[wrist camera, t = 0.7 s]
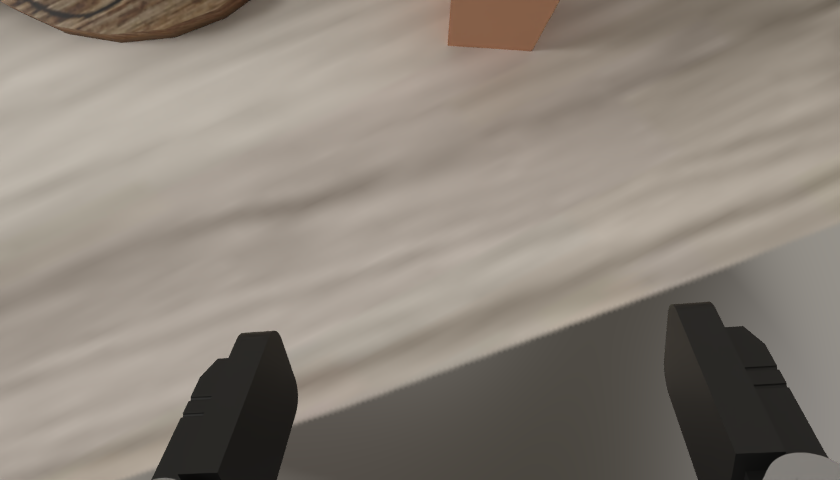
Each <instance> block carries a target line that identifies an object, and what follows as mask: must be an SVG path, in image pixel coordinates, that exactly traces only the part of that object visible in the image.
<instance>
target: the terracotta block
mask: <svg viewBox="0 0 840 480" xmlns="http://www.w3.org/2000/svg"><path fill="white" fill-rule="evenodd" d="M559 1H560V0H451V7H450V21H449V35H448V46H462V47H477V48H493V49H508V50H523V51H532V50H533V48H534V46H535V44H536V43H537V41H538V39H539V37H540V35H541V34H542V32H543V30H544V28H545V26H546V24H547V23H548V21H549V19H550V17H551V15H552V14H553V12H554V10H555V8H556V6H557V4H558V3H559Z"/></svg>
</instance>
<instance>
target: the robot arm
mask: <svg viewBox="0 0 840 480" xmlns="http://www.w3.org/2000/svg"><path fill="white" fill-rule="evenodd" d="M664 372H665V379H666V385H667V390H668V393H669V396H670V399H671V402H672V405H673V408H674V410H675V414H676V417H677V420H678V422H679V425H680V428H681V431H682V434H683V437H684V440H685V443H686V446H687V449H688V451H689V455H690V457H691V460H692V463H693V466H694V469H695V472H696V475H697V478H698V480H840V464H839V463H837V462H835V461H833V460H831V459H829V458H828V457H827V455H826V453H825V452H824V450H823V448H822V446H821V444H820V443H819V441H818V439H817V438H816V435H815V434H814V432H813V430H812V428H811V426H810V425H809V423H808V421H807V419H806V417H805V416H804V414H803V412H802V410H801V408H800V407H799V405H798V403H797V401H796V399H795V398H794V396H793V394H792V392H791V390H790V389H789V388H787V386H786V381H785V379H784V378H783V376H782V374H781V372H780V371H779V370H777V365H776V363H775V362H774V360H773V358H772V356H771V354H770V352H769V351H768V349H767V347H766V345H765V344H764V343H763V342H762V341H760V340H759V339H758V338H757V337H756V336H754V335H753V334H752V333H751V332H750V331H748V330H747V329H746V328H745V327H743V326H739V327H724V325H723V323H722V321H721V319H720V317H719V315H718V313H717V311H716V309H715V307H714V305H713V304H712V303H711V302H699V303H685V304H672V305H670V306H669V310H668V319H667V331H666V344H665V356H664ZM297 404H298V390H297V384H296V380H295V377H294V374H293V371H292V368H291V365H290V362H289V360H288V357H287V354H286V351H285V348H284V345H283V342H282V339H281V337H280V335H279V333H278V332H277V331H265V332H251V333H241V334H240V335H239V336H238V338H237V340H236V342H235V344H234V347H233V349H232V351H231V353H230V356H229V358H223V359H217V360H216V361H215V362H214V363H213V364H212V365H211V366H210V367H209V368H208V370H207V371H206V372H205V373H204V374H203V375H202V376H201V377H200V379H199V381H198V383H197V385H196V387H195V389H194V391H193V393H192V395H191V401H189V402H188V404H187V406H186V408H185V410H184V412H183V418H181V419H180V421H179V423H178V425H177V427H176V429H175V431H174V433H173V435H172V438H171V440H170V442H169V444H168V446H167V448H166V450H165V452H164V454H163V457H162V459H161V461H160V463H159V465H158V467H157V469H156V471H155V473H154V476H153V478H152V479H151V480H277V476H278V473H279V470H280V466H281V463H282V459H283V456H284V452H285V449H286V445H287V442H288V438H289V435H290V431H291V428H292V425H293V421H294V418H295V414H296V410H297Z"/></svg>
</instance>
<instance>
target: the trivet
mask: <svg viewBox="0 0 840 480" xmlns="http://www.w3.org/2000/svg"><path fill="white" fill-rule="evenodd" d="M0 1H1V2H3V3H4V4H6V5H8V6H10V7H12V8H14V9H16V10H18V11H20V12H22V13H24V14H26V15H28V16H30V17H33V18H35V19H37V20H39V21H41V22H44V23H46V24H48V25H50V26H52V27H54V28H57V29H59V30H61V31H63V32H65V33H68V34H72V35H78V36H84V37H90V38H96V39H102V40H108V41H114V42H120V43H123V42H133V41H143V40H153V39H163V38H173V37H177V36H180V35H182V34H185V33H188V32H190V31H193V30H195V29H198V28H201V27H203V26H206V25H209V24H211V23H214V22H216V21H219V20H222V19H224V18H226V17H228V16H229V15H230V14H232V13H233V12H235V11H236V10H237V9H239V8H240V7H241V6H243V5H244V4H246V3H247V2H248V1H250V0H0Z"/></svg>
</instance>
